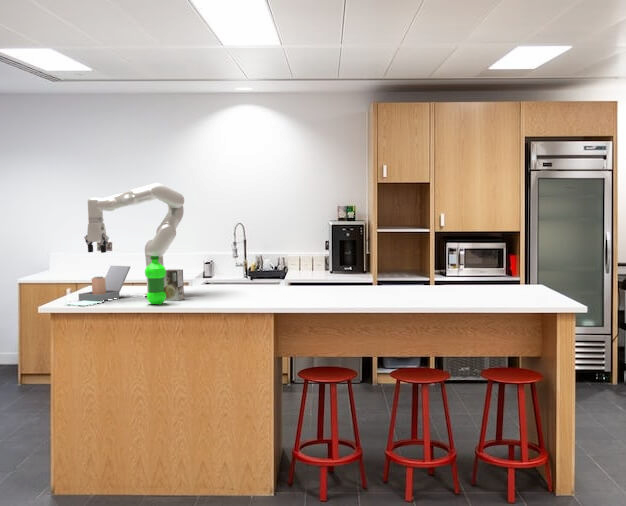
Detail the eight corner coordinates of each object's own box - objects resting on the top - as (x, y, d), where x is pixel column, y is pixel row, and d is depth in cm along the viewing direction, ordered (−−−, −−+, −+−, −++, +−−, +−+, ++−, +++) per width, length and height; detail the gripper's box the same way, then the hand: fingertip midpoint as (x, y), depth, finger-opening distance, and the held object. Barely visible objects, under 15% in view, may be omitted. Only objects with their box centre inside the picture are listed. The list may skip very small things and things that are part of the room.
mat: (104, 302, 380) (104, 301, 380) (84, 306, 368) (84, 305, 368) (85, 301, 387) (85, 300, 387) (65, 305, 375) (65, 303, 375)
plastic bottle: (167, 304, 368) (166, 256, 366) (146, 306, 365) (144, 257, 363) (166, 302, 378) (164, 254, 376) (145, 303, 375) (143, 255, 373)
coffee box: (184, 299, 388) (183, 269, 387) (178, 300, 382) (177, 270, 381) (169, 298, 391) (168, 269, 390) (163, 300, 385) (162, 270, 384)
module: (106, 299, 393) (105, 276, 392) (99, 300, 388) (98, 277, 387) (99, 299, 395) (98, 276, 394) (92, 300, 391) (91, 277, 390)
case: (131, 296, 403) (130, 266, 402) (98, 302, 381) (96, 270, 380) (111, 295, 411) (110, 265, 409) (77, 301, 389) (76, 269, 388)
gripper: (112, 220, 387) (113, 252, 389) (89, 220, 396) (90, 251, 397) (102, 221, 381) (103, 253, 382) (79, 221, 389) (80, 252, 391)
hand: (97, 252), depth 390 cm, fingers open, 9 cm apart
